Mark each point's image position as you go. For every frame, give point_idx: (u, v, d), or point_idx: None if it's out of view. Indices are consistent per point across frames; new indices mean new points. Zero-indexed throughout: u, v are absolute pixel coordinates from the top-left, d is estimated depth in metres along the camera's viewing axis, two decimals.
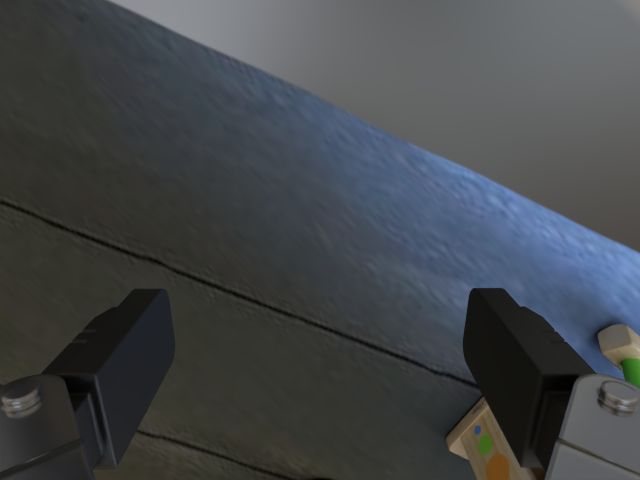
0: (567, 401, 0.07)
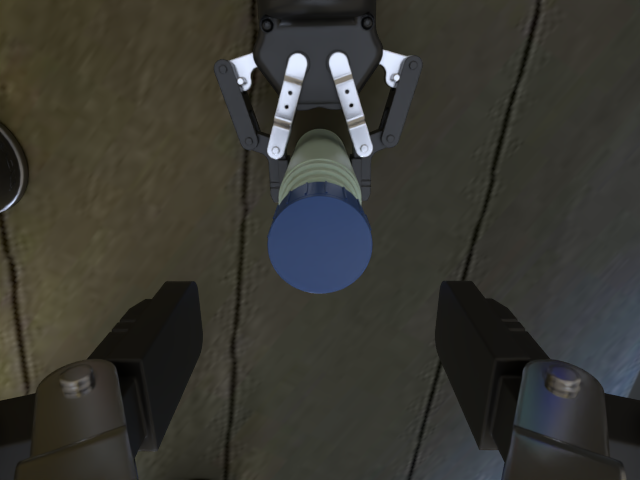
0: (519, 385, 0.08)
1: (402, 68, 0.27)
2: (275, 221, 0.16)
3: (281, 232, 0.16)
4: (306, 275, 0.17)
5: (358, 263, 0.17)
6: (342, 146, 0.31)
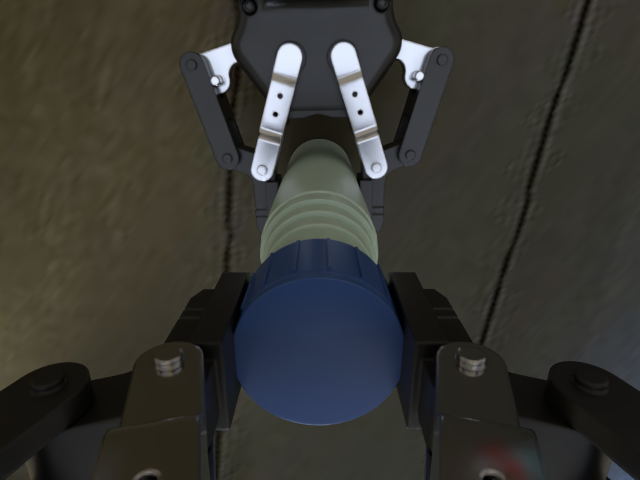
0: None
1: (427, 63, 0.21)
2: (243, 318, 0.09)
3: (253, 334, 0.10)
4: (296, 399, 0.10)
5: (382, 381, 0.10)
6: (347, 163, 0.25)
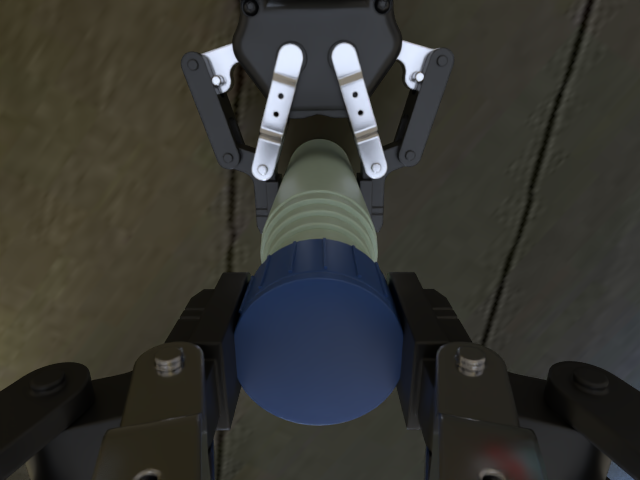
0: None
1: (427, 65, 0.21)
2: (279, 416, 0.10)
3: (297, 408, 0.10)
4: (371, 374, 0.10)
5: (346, 297, 0.09)
6: (347, 163, 0.25)
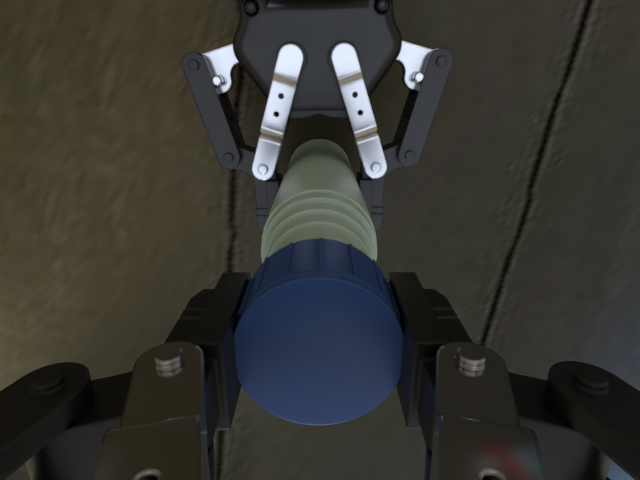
0: None
1: (426, 65, 0.21)
2: (393, 387, 0.10)
3: (383, 373, 0.10)
4: (337, 309, 0.09)
5: (249, 336, 0.10)
6: (347, 162, 0.25)
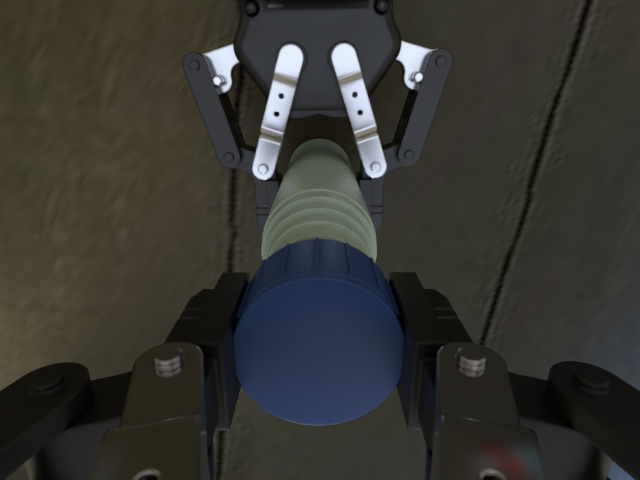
0: None
1: (426, 65, 0.21)
2: (355, 286, 0.09)
3: (335, 298, 0.09)
4: (262, 344, 0.10)
5: (299, 412, 0.10)
6: (347, 162, 0.25)
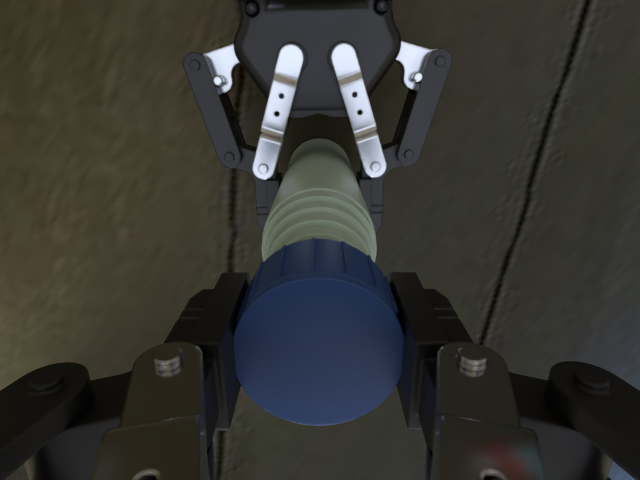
0: None
1: (426, 65, 0.21)
2: (236, 331, 0.09)
3: (250, 346, 0.10)
4: (306, 402, 0.10)
5: (387, 371, 0.10)
6: (347, 162, 0.25)
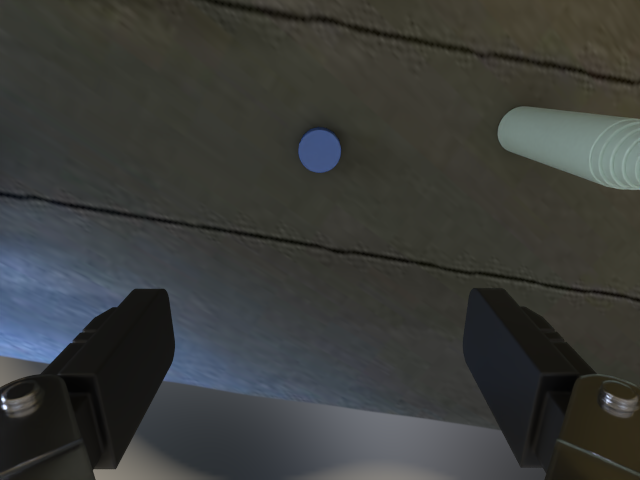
0: (567, 401, 0.07)
1: None
2: (300, 144, 0.40)
3: (303, 148, 0.40)
4: (316, 165, 0.41)
5: (336, 155, 0.40)
6: None
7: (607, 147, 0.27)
